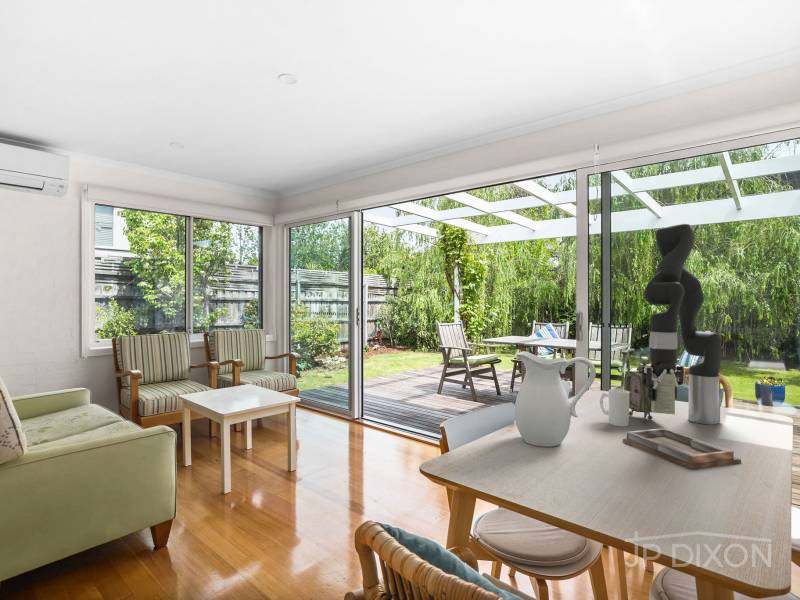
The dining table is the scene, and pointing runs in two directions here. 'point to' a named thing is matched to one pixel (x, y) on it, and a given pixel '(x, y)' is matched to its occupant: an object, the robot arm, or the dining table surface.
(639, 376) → the tabletop clock
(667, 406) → the skincare box
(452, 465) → the dining table surface
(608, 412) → the mug
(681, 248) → the robot arm
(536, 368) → the pitcher
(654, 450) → the wooden tray
